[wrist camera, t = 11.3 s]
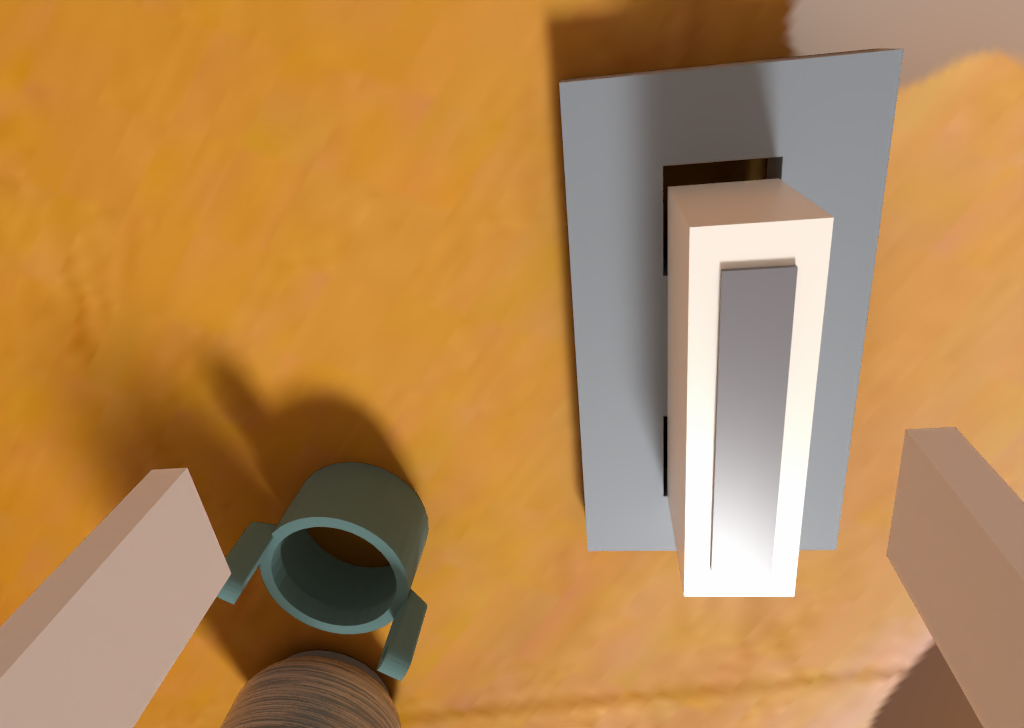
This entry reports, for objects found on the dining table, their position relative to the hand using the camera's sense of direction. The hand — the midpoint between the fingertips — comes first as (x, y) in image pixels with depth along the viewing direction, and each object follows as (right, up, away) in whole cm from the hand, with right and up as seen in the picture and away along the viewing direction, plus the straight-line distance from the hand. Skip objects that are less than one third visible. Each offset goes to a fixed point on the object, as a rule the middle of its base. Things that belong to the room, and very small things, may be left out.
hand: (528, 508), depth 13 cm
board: (+9, +5, +21) cm, 23 cm away
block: (+9, +4, +21) cm, 23 cm away
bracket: (-10, -7, +29) cm, 31 cm away
